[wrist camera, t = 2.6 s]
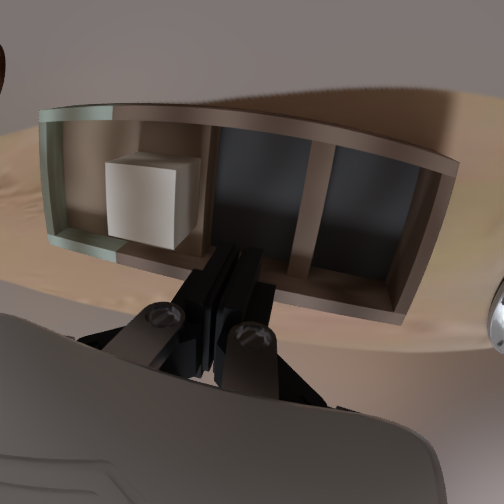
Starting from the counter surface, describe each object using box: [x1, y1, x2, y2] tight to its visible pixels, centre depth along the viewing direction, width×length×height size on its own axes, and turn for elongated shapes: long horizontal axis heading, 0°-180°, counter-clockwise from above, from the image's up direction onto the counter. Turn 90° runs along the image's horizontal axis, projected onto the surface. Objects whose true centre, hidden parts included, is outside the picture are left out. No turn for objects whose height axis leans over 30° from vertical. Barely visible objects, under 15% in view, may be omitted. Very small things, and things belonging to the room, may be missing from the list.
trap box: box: [39, 103, 460, 325], centre depth 21 cm, size 30×12×4 cm, turn 83°
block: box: [105, 151, 201, 250], centre depth 20 cm, size 5×5×4 cm
